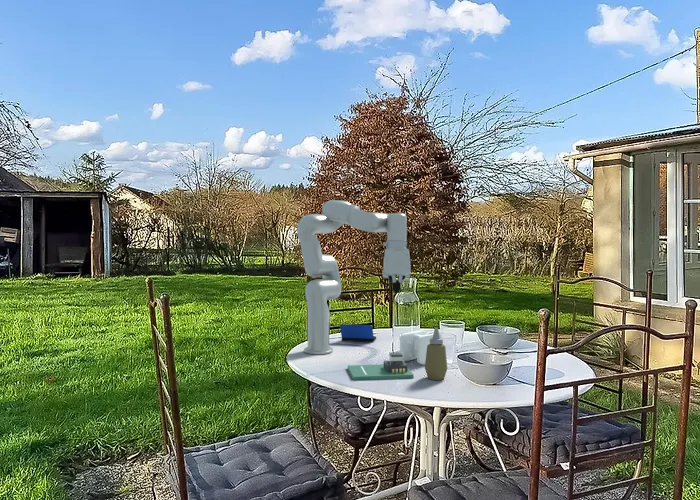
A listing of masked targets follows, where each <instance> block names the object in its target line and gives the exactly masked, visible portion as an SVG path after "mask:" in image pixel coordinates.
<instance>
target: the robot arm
mask: <svg viewBox="0 0 700 500" xmlns="http://www.w3.org/2000/svg"><path fill="white" fill-rule="evenodd" d="M321 213H322V214H321ZM321 213H320V214H319V213H317V214H316V213H311V214H305V215H303V216H302V217H301V218H300V219H299V221H298V223H297V227H296V232H297V234H296V235H297V237H298V240H299V245H300V248H301V255H302V260H303V266H304V270H305V273H306V275H307V276H309V277H313V278H314V277H316V279H313V280H310V281H309V282H307V284H306V286H305V289H304V290H305V291H304V293H305V294H304V295H305V298H306V304H307V305H306V306H307V307H306V308H307V347H304V349H303V350H304V351H303V352H304V353H306V354H308V355H309V354H310V355H327V354H331V353H333V351H334V348H333V347H331V346H330V308H329V305H328V303H327V301H329V300H331V301H332V300H335V299H338V298H339V297H340V296H341V293H342V282H341V277H340V271H339V266H338V262H337V260H336V259H335V257H333V256H332V255H330V254H327V253H326V254H325V253H324V254H323V253H322V247H321V244H320V243H321V242H320V241H319V239H318V238H317V237H316V234H320V235H321V234H322V235H323V234H326V235H328V234H332V233H334V232H335V231H336V230H338V229H339V228H340V227H342V226H343V225H347V226H350V227H351V228H353V229H357V230H360V231H364V232H366V233H367V232H368V233H386V241H385V242H384V241H383V243H382V246H383V247H386V248H385V249H384V253H383V262H382V263H383V265H382V266H383V267H382V271H383V273H382V278H384V279H388V280H390V282H391V283H392V284H391V289H392V292H393V293H394V294H400V291H401V289H402V288H401V283H402V282H403V281H404V280H405V279H407V278H410V277H411V269H412V268H411V256H410V249H409V248H407V241H408V240H407V236H408V235H407V226H408V225H407V222H408V220H407V218H408V217H407V215H406V214H405V213H400V212H398V213H396V212H393V213H385V212H369V211H365V210H361V209H360V207H359V206H358V205H355V204H352V203H350V202H349V201H346V200H339V199H338V200H335V199H332V200H328V201H326V202H325V203H323V205H322V209H321ZM396 276H397V278H396ZM317 277H322V278H317ZM396 279H397V280H396Z"/></svg>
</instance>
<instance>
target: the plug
mask: <svg viewBox="0 0 700 500" xmlns="http://www.w3.org/2000/svg"><path fill="white" fill-rule="evenodd" d="M388 361H389V365H394V362H400V365H403V361H404V360H403V361H402V354H401V353H400V351H395V352H389V360H388Z"/></svg>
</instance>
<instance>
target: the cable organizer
mask: <svg viewBox="0 0 700 500" xmlns="http://www.w3.org/2000/svg"><path fill="white" fill-rule="evenodd" d="M433 334H434V332H433V333H428V334H427V332H426V331H425V330H415V331H410V332H404V333H402V334H401V335H400V336H399V352H400V353H401V354H402V360H403V361H404V362H410V360H411V361H412V360H416V363H418V364H419V365H421V366H425V361H426V352H427V345H429V344H431V343H430V338H433ZM439 336H440V338H442V339H443V334H442V333H440V332H439ZM416 358H417V359H416Z"/></svg>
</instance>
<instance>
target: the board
mask: <svg viewBox="0 0 700 500" xmlns="http://www.w3.org/2000/svg"><path fill="white" fill-rule="evenodd" d="M402 361H403V365H400V362H394V365H389V360H384V361H383V364H358V365H357V364H354V365H353V364H351V365H347V371H348V372H349V375H350V376H351V379H352V380H353V381H365V380H367V381H370V380H372V381H373V380H374V381H375V380H398V379H399V380H400V379H415V378H414V376H415V375H414V373H413V372H412V371H411V370H410V369H409V368H408V367H409V366H408V364H407V363H406V361H404V360H402Z"/></svg>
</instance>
